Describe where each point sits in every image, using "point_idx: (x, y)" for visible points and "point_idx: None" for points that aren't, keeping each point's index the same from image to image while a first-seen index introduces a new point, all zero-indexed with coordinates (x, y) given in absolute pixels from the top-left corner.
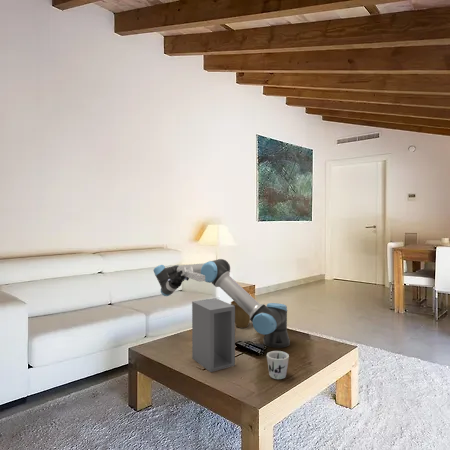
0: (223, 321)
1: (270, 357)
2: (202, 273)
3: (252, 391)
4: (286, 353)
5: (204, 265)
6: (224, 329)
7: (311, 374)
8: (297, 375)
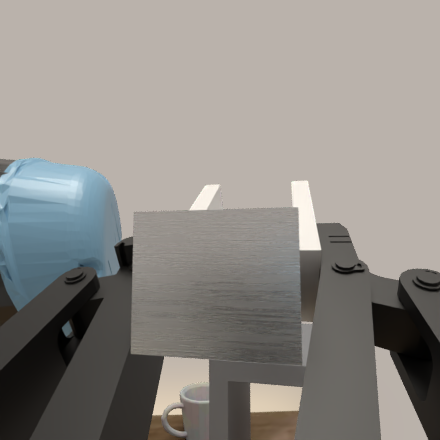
0: (243, 403)
1: None
2: (108, 270)
3: (289, 433)
4: (184, 388)
5: (105, 192)
6: (244, 429)
7: (154, 415)
8: (174, 423)
